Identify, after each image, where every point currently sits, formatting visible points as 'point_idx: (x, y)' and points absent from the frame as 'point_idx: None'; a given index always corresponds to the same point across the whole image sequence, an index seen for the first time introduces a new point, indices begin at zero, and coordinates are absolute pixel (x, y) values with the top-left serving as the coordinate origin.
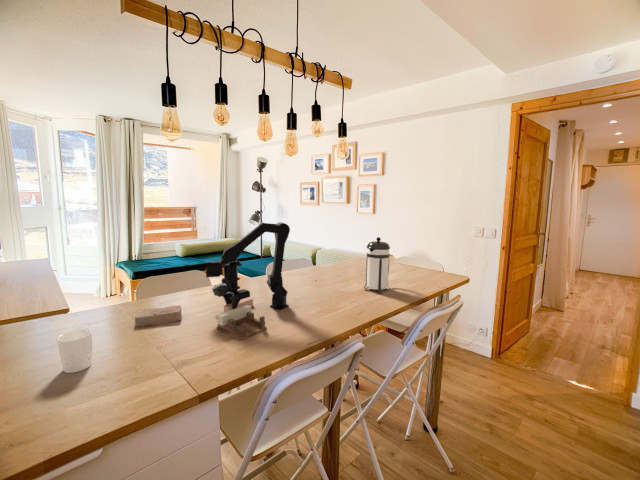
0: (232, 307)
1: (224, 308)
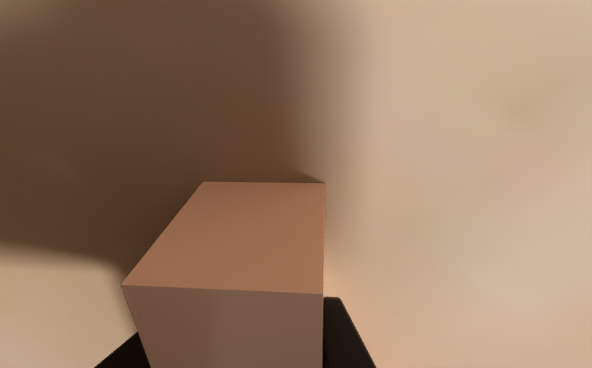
0: None
1: (305, 240)
